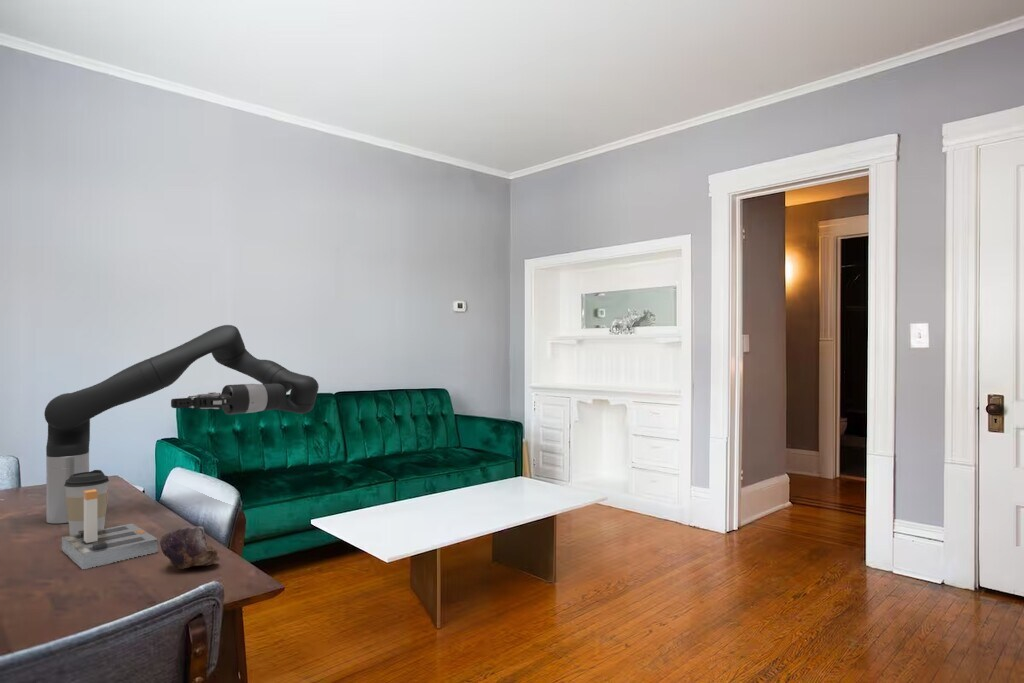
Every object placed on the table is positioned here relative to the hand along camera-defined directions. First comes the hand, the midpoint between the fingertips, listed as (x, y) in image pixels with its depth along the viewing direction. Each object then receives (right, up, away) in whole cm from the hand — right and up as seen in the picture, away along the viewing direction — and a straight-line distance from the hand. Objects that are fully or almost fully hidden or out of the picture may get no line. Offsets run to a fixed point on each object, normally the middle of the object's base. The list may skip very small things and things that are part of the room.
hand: (172, 403), depth 147 cm
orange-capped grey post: (-11, -29, -12) cm, 33 cm away
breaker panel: (-9, -32, -10) cm, 35 cm away
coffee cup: (-23, -32, +3) cm, 40 cm away
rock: (+14, -32, -19) cm, 40 cm away
